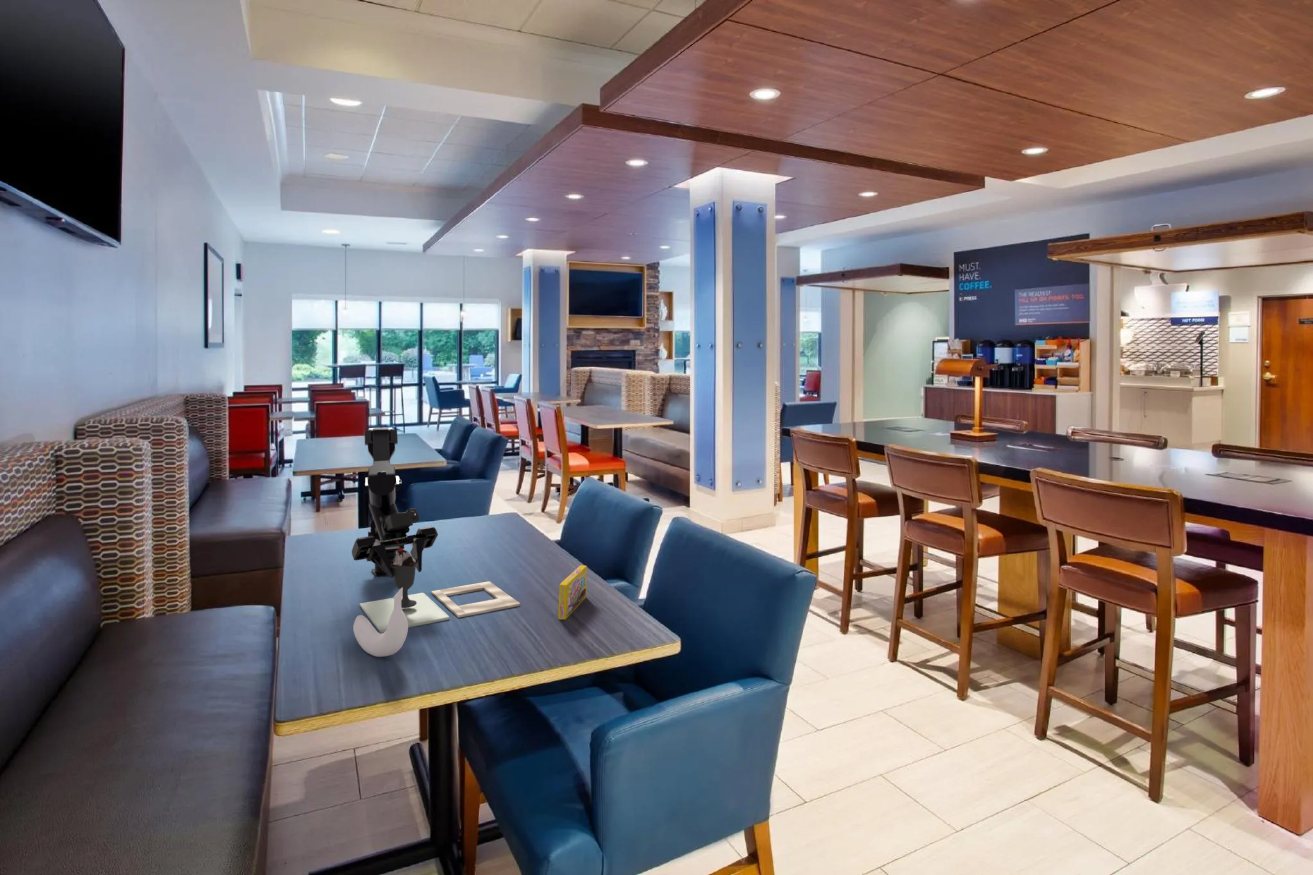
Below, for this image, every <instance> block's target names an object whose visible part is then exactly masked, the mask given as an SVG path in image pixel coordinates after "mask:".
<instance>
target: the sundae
mask: <svg viewBox="0 0 1313 875" xmlns="http://www.w3.org/2000/svg"><path fill="white" fill-rule="evenodd" d="M396 542H397V543H398V544H399V542H398V540H396ZM399 546H400V544H399ZM418 562H419V560H416V559H414V558H413V557H412V556H411V553H410V552H409V551H408V550H405V549H402V548H401V547H400V548H399V549H398V550H397V554H396V555H395V557H394V559H393V561H390V565H391V566H390V567H392V570H393V573H394V576H393V580H394V583H395V586H396V587H397V589H398V590H400V589H401V588H403V594H402V600H401V608H409V607H412V606H415V605H416V604H417V602H416V601H414V600H410V599H409V598H408V595H409V594H408V593H409V592H408V590H409V589H410V588H412V587H413V585H414V582H415V577H416V569H417V568H416V564H417V563H418Z"/></svg>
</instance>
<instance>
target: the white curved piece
mask: <svg viewBox="0 0 1313 875" xmlns="http://www.w3.org/2000/svg"><path fill="white" fill-rule="evenodd" d="M402 596H403V588H401V589H398V591H397V592H396V593H395V595H394V596H393V598H394V609H393V611H392V614H391V616H390V619H389V623H388V626H387V630H386V631H385V632H382V633H380V631H377V630H376V627H375V626H373V625H372V624H373V623H372V622H371V621H369V620H370V619H369V618H367V616H364V615H362V614H359V615H357V616H356V617H355V620H354V622H353V626H352V629H353V634H354V637H355V639H356V641H357V643H358V644H359V646H360V647H361V648H362V649H363V651H364V652H366V653H367V654H369V655H371V656H373V657H377V658H378V657H379V658H380V657H381V658H382V657H388V656H389V657H390V656H391V655H394V654H396V653H397V652H398V651H400V650H401V649H402V647H403V645H404V643H405V641H406V639H407V635H408V630H409V627H408V621H407V618H406V616H405V614H404V613H403V611H402V608H401V600H402Z"/></svg>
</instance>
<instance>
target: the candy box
mask: <svg viewBox="0 0 1313 875" xmlns="http://www.w3.org/2000/svg"><path fill="white" fill-rule="evenodd" d="M587 574H588V566H587V565H582V564H580V565H579V566H578V567H577V568H575V570H573V571H572V573H570V574H569V575H568V576H567V577H566V578H564V580H562V581H561V583H560V584H559V589H558V591H559V592H558V617H557V619H558V620H559V621H560V620H561V621H563V620H564V621H565V620H567V619H568V617H570V615H571V614H573V612H574V611H575V610H576V609H577V608H578V606H580V605H581V603H582V602H583V601H584V600H585V599H586V598H587V581H588V578H587V577H588V575H587Z"/></svg>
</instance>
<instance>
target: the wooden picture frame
mask: <svg viewBox="0 0 1313 875" xmlns="http://www.w3.org/2000/svg"><path fill="white" fill-rule="evenodd" d="M477 591H485V592H486V593H488V595H490V596H491V597H493V598H494V599H488V600H482V601H478V602H472V603H467V604H461V605H458V604H456V603H455V602H454V601H453V600H452V599H450V597H449V596H455V595H461V594H467V593H472V592H477ZM430 593H431V595H433V597H434V598H436V600H438V601H439V602H441V604H443V605H444V606H445V608H447V609H448V610H449V611H450V612H451V613H452V614H454V615H455V617H457V618H458V619H459V618H463V617H469V616H474V615H479V614H485V613H490V612H494V611H500V610H506V609H509V608H510V609H511V608H514V607H520V606H521V603H520V602H519V601H517V600H516V599H515V598H513V597H512V596H510V595H509V594H508V593H506V592H505V591H503V590H502V589H501V588H499V587H498V586H497V585H495V584H494V583H492V582H491V581H490V580H489V581H485V582H484V581H483V582H477V583H472V584H465V585H461V586H454V587H448V588H442V589H436V590H431V592H430Z"/></svg>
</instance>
